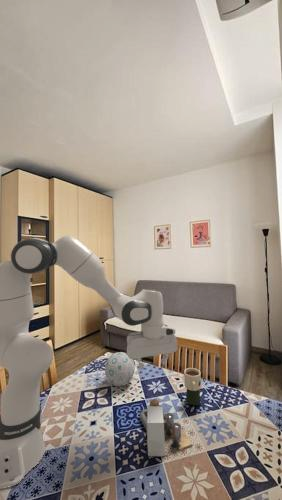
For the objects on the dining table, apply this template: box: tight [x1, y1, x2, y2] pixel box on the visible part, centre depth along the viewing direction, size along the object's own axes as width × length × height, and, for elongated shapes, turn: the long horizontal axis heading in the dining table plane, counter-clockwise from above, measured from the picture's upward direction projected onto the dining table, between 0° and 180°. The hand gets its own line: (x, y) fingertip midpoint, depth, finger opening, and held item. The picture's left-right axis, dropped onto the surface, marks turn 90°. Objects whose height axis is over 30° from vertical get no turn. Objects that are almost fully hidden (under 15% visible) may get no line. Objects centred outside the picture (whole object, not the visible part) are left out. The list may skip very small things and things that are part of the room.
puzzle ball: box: [104, 351, 136, 387], centre depth 108 cm, size 15×15×15 cm
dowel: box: [149, 398, 160, 406], centre depth 82 cm, size 4×4×7 cm
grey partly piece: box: [139, 404, 167, 432], centre depth 82 cm, size 9×9×2 cm
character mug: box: [183, 367, 202, 406], centre depth 93 cm, size 11×7×13 cm, turn 173°
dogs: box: [165, 412, 193, 451], centre depth 75 cm, size 6×10×6 cm, turn 20°
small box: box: [146, 405, 166, 457], centre depth 72 cm, size 8×6×10 cm
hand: (152, 366), depth 82 cm, fingers open, 8 cm apart
